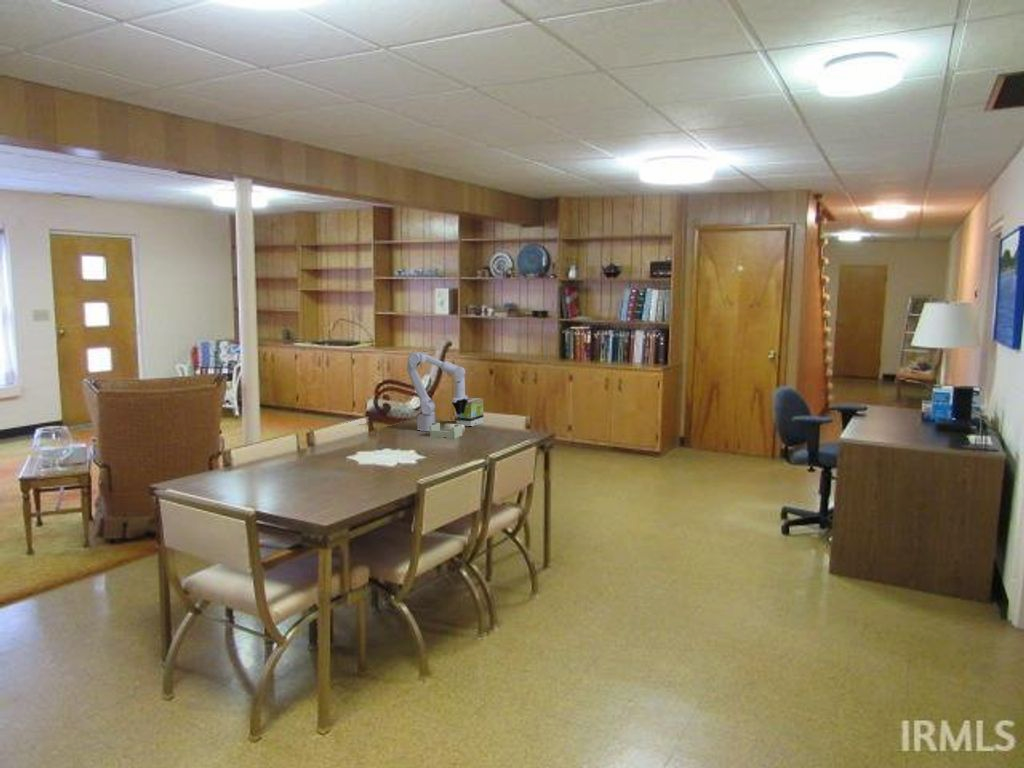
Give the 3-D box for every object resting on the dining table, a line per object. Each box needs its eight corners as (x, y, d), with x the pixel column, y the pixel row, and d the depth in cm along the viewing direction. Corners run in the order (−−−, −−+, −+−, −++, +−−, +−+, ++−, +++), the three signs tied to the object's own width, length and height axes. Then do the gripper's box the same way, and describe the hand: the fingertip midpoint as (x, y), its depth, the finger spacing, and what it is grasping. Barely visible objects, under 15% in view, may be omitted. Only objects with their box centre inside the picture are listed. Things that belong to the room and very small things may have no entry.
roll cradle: (429, 436, 384) (429, 424, 383) (438, 433, 392) (437, 421, 391) (454, 438, 378) (454, 426, 377) (462, 435, 386) (462, 423, 385)
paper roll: (443, 431, 393) (444, 422, 394) (447, 433, 397) (448, 424, 398) (460, 432, 388) (461, 423, 390) (464, 434, 393) (465, 425, 394)
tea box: (471, 427, 408) (471, 401, 406) (456, 426, 413) (455, 400, 411) (484, 423, 422) (483, 397, 420) (469, 421, 426) (468, 396, 424)
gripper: (460, 391, 389) (460, 416, 391) (472, 387, 402) (472, 411, 404) (448, 390, 392) (449, 415, 393) (461, 387, 405) (461, 411, 407)
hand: (460, 413), depth 399 cm, fingers open, 4 cm apart
